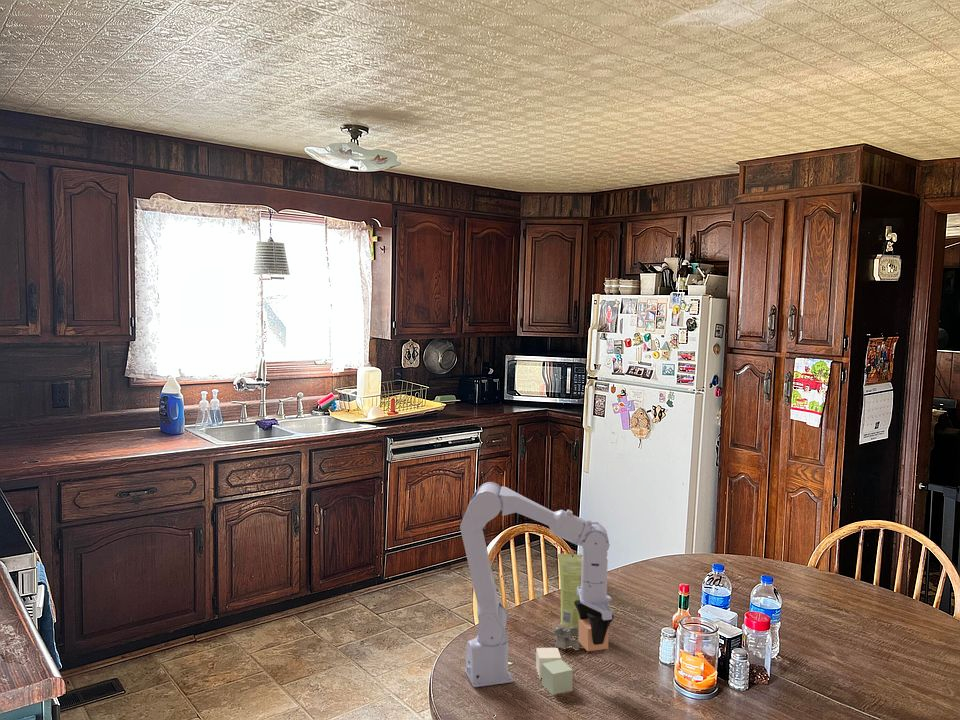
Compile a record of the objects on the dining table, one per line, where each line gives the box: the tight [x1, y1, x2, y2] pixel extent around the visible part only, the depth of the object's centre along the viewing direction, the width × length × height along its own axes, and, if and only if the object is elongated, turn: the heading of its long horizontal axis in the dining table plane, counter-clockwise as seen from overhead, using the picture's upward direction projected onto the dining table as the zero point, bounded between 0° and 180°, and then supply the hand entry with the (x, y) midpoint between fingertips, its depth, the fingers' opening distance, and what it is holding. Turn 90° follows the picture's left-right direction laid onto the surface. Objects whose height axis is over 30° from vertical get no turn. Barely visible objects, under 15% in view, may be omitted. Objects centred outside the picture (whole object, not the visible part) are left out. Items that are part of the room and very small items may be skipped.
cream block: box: [535, 647, 562, 679], centre depth 167 cm, size 5×5×5 cm
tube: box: [557, 553, 583, 627], centre depth 192 cm, size 6×5×20 cm
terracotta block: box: [578, 619, 610, 652], centre depth 162 cm, size 5×5×5 cm
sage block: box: [541, 659, 574, 696], centre depth 160 cm, size 5×5×5 cm
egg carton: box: [553, 625, 583, 649], centre depth 182 cm, size 11×8×4 cm
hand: (592, 638), depth 162 cm, fingers closed on terracotta block, 5 cm apart
